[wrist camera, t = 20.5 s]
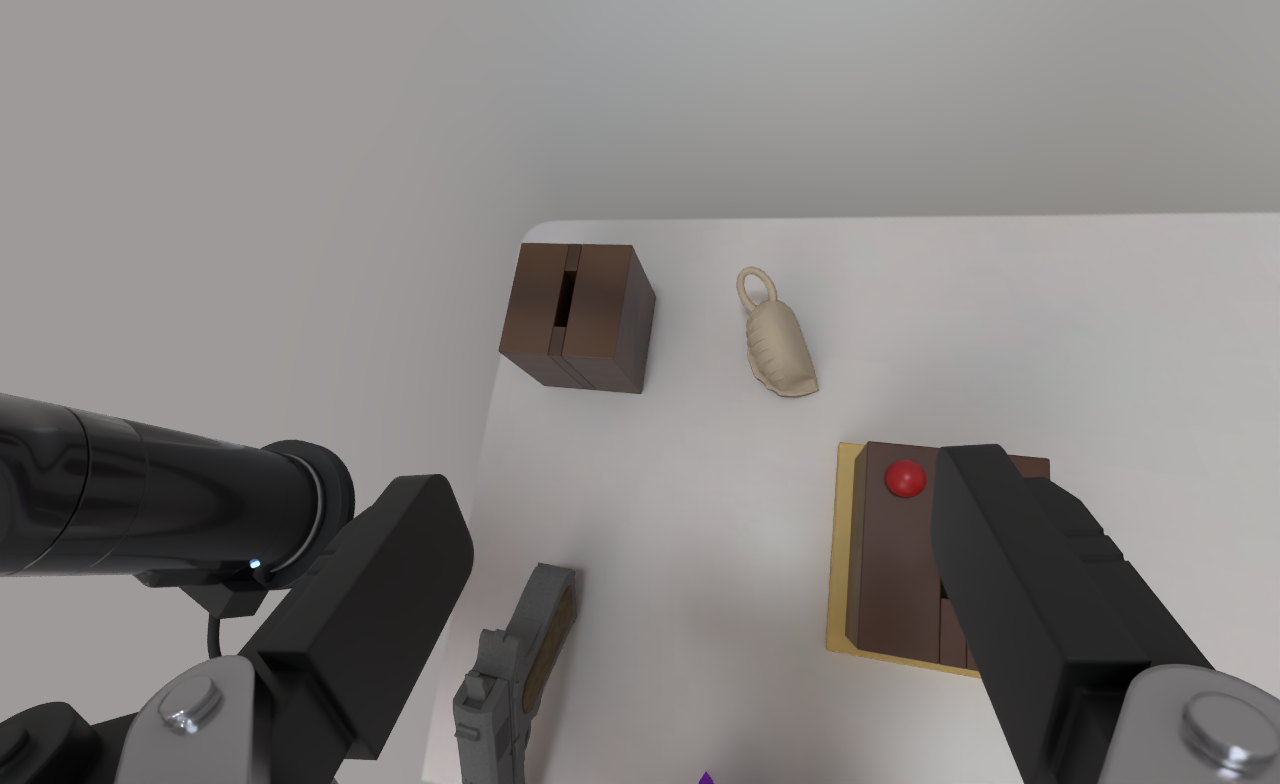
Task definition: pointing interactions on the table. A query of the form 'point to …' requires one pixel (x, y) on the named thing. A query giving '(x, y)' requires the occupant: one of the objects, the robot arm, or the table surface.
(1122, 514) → the table surface
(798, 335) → the decorative ornament
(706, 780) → the decorative flower
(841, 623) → the cake
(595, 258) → the knife block
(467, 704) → the handgun
